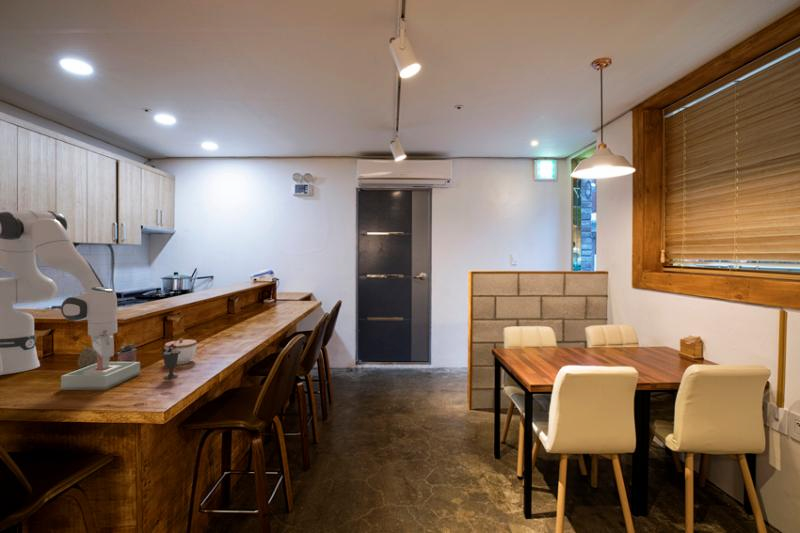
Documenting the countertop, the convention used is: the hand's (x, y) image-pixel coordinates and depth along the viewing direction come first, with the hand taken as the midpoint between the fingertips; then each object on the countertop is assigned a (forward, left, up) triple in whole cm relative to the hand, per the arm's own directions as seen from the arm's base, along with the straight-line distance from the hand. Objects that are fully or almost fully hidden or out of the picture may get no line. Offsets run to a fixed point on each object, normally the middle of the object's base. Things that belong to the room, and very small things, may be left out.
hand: (103, 364), depth 141 cm
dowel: (0, 0, -6) cm, 6 cm away
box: (0, 0, -7) cm, 7 cm away
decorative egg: (-16, +13, -7) cm, 22 cm away
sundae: (+23, +5, -7) cm, 25 cm away
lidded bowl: (+15, +26, -7) cm, 31 cm away
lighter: (-3, +17, -7) cm, 19 cm away
